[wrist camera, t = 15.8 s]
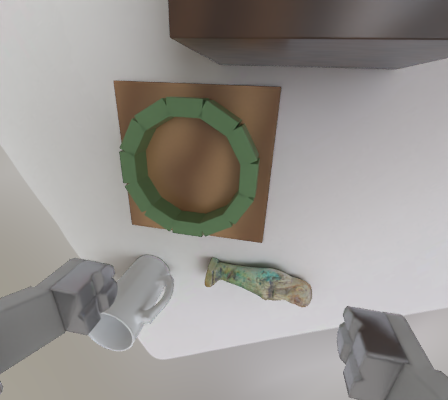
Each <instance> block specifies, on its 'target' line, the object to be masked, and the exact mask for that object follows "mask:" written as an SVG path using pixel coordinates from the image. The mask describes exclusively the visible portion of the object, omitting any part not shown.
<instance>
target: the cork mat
mask: <svg viewBox="0 0 448 400" xmlns="http://www.w3.org/2000/svg"><path fill="white" fill-rule="evenodd" d="M114 88H115V96H116V103H117V111H118V119H119V127H120V134H121V142H122V141H123V139H124V136H125V134H126V131H127V129H128V127H129V124H130V122H131V119H134V118H135V117H134V116H135V115H136V114H138V113H139V112H141V111H142V110H144V109H145V108H147V107H149V106H150V105H152V104H153V103H155V102H156V101H158V100H160V99H161V98H166V97H194V98H209V100H214V101H216V102H217V103H219V104H220V105H222V106H223V107H224V108H226V109H227V110H229V111H230V112H232V113H233V114H234V115H236V116H237V117H239V118H240V119H242V121H241V123H240V124H239V126H240V125H242V124H244V123H245V125H246V127H247V129H248V131H249V133H250V136H251V138H252V140H253V142H254V144H255V146H256V148H257V151H258V153H259V156H258V158H260V162H259V172H258V182H257V190H256V195H255V198H254V201H253V203H252V204H251V205H250V206H249V208H248V209H247V210H246V211H245V213H244V214H243V215H242V216H241V218H240V219H239V220H238V222H237V223H236V224H235V225H234V224H233V225H232V227H230V228H227V229H224V230H222V231H219V232H216V233H213V234H211V235H210V236H217V237H224V238H231V239H238V240H245V241H252V242H260V243H262V240H263V232H264V224H265V216H266V208H267V200H268V191H269V183H270V175H271V167H272V159H273V151H274V142H275V134H276V126H277V118H278V110H279V102H280V93H281V87H269V86H242V85H216V84H190V83H164V82H137V81H114ZM146 157H147V168H148V176H149V178H150V179H151V181H152V182H153V184H154V186H155V187H156V189H157V191H158V192H159V194H160V195H161V197H162V198H164V199H165V200H167V201H168V202H170V203H171V204H173V205H174V206H176V207H177V208H179V209H180V210H182V211H189V212H197V213H205V214H206V213H209V212H211V211H214V210H216V209H219V208H221V207H224V206H226V205H228V203H229V202H230V201H231V199H232V198H233V196H234V195H235V194H236V192H237V191H238V190H239V178H240V163H239V161H238V159H237V157H236V155H235V153H234V151H233V149H232V147H231V145H230V143H229V141H228V139H227V137H226V136H225V135H223V134H222V133H220V132H219V131H217V130H216V129H215V128H213V127H212V126H210V125H209V124H207V123H206V122H204V121H203V120H201V119H200V118H186V117H174V118H172V119H171V120H169V121H167V122H166V123H164V124H162V125H160V126H159V127H157V128H156V130H155V132H154V134H153V136H152V139H151V141H150V143H149V145H148V147H147V149H146ZM127 184H128V183H127ZM128 196H129V204H130V212H131V220H132V225H139V226H146V227H154V228H161V229H165V228H163V227H162V226H160V225H159V224H157V223H156V222H154V221H153V220H151V219H150V218H148V217H147V216H145V215H144V214H145V212H146V211H147V210H146V211H144V212H141V211H140V209H139V208H138V206H137V205H136V203H135V201H134V200H133V198H132V197H131V195H130V194H129V192H128ZM171 230H173V228H172V229H171ZM203 235H204V234H203Z"/></svg>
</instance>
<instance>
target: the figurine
mask: <svg viewBox="0 0 448 400" xmlns="http://www.w3.org/2000/svg"><path fill="white" fill-rule="evenodd" d="M220 279H221V280H224V281H227V282H229V283H232V284H235V285H237V286H240V287H242V288H244V289H246V290H248V291H250V292H252V293H254V294H256V295H258V296H260V297H261V298H262V299H264V300H267V299H268V300H287V301H288V302H290V303H292V304H296V305H298V306H301V307H306V306H308V305H309V303H310V301H311V299H312V289H311V286H310V285H309V284H308V283H307V282H305V281H303V280H301V279H298V278H295V277H291V276H289V275H288V274H286V273H284V272H282V271H279V270H276V269H272V268H255V267H246V266H240V265H232V264H227V263H222V262H219V261H218V259H216V258H212V259H211V261H210V264H209V266H208V269H207V273H206V278H205V286H206V287H211V286H212V285H214V284H215V283H216V282H217V281H218V280H220Z"/></svg>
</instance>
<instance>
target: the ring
mask: <svg viewBox="0 0 448 400" xmlns="http://www.w3.org/2000/svg"><path fill="white" fill-rule="evenodd" d="M134 117H135V118H134V119H131V122H130V124H129V127H128V129H127V131H126V134H125V136H124V139H123V141H122V144H121V146H120V149H122V150H123V151H120V152H119V154H120V161H121V169H122V176H123V183H128V184H127V185H126V186H125V188H126V189H127V191H128V192H129V194H130V195H131V197H132V198H133V200H134V201H135V203H136V205H137V206H138V208H139V209H140V211H141V212H144V211H146V210H147V211H146V212H145V214H144V215H145V216H147V217H148V218H150V219H151V220H153V221H154V222H156V223H157V224H159V225H160V226H162V227H163V228H165V229H167V230H168V231H171V229H172V228H173V233H178V234H185V235H192V236H199V237H202V236H203V234H204V235H205V236H208V235H211V234H213V233H216V232H219V231H222V230H224V229H227V228H230V227H232V225H233V224H234V225H235V224H236V223H237V222H238V220H239V219H240V218H241V216H242V215H243V214H244V213H245V211H246V210H247V209H248V208H249V206H250V205H251V204H252V203H253V201H254V198H255V195H256V190H257V182H258V172H259V162H260V158H258V156H259V153H258V151H257V148H256V146H255V144H254V142H253V140H252V138H251V136H250V133H249V131H248V129H247V127H246V125H245V123H244V124H242V125H240V126H239V124H240V123H241V121H242V119H240V118H239V117H237V116H236V115H234V114H233V113H232V112H230V111H229V110H227V109H226V108H224V107H223V106H222V105H220V104H219V103H217V102H216V101H214V100H209V98H194V97H166V98H161V99H160V100H158V101H156V102H155V103H153V104H152V105H150V106H149V107H147V108H145V109H144V110H142V111H141V112H139V113H138V114H136V115H135V116H134ZM174 117H186V118H200V119H201V120H203V121H204V122H206V123H207V124H209V125H210V126H212V127H213V128H215V129H216V130H217V131H219V132H220V133H222V134H223V135H225V136H226V137H227V139H228V141H229V143H230V145H231V147H232V149H233V151H234V153H235V155H236V157H237V159H238V161H239V163H240V178H239V190H238V191H237V192H236V194H235V195H234V196H233V198H232V199H231V201H230V202H229V203H228V205H226V206H224V207H221V208H219V209H216V210H214V211H211V212H209V213H206V214H205V213H197V212H189V211H182V210H180V209H179V208H177V207H176V206H174V205H173V204H171V203H170V202H168V201H167V200H165V199H164V198H162V197H161V195H160V194H159V192H158V191H157V189H156V187H155V186H154V184H153V182H152V181H151V179H150V178H149V176H148V168H147V157H146V149H147V147H148V145H149V143H150V141H151V139H152V136H153V134H154V132H155V130H156V128H157V127H159V126H160V125H162V124H164V123H166V122H167V121H169V120H171V119H172V118H174Z"/></svg>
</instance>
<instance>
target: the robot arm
mask: <svg viewBox="0 0 448 400" xmlns="http://www.w3.org/2000/svg"><path fill="white" fill-rule="evenodd" d="M114 274H115V271H114V267H113V266H112V265H110V264H105V263H100V262H95V261H90V260H84V259H79V258H73V259H70V260H69V261H67V262H66V263H65V264H64V265H63V266H61V267H60V268H58V269H57V270H56V271H55V272H53V273H52V274H51V275H50V276H48V277H47V278H46V279H44V280H43V281H42V282H41V283H39V284H38V285H37V286H35V287H28V288H25V289H23V290H20V291H17V292H15V293H12V294H9V295H7V296H4V297H2V298H0V374H1V373H3V372H4V371H6V370H7V369H9V368H10V367H12V366H14V365H15V364H17V363H18V362H20V361H21V360H23V359H24V358H26V357H28V356H29V355H31V354H32V353H34V352H35V351H37V350H39V349H40V348H42V347H43V346H45V345H46V344H48V343H50V342H51V341H53V340H54V339H56V338H57V337H59V336H60V335H62V334H64V333H65V331H69V332H73V333H79V334H83V335H88V334H89V333H90V332H91V331H92V329H93V328H94V327H95V326H96V324H97V323H98V322H99V321H100V319H101V313H102V312H104V311H106V310H108V309H109V308H110V307H111V305H112V304H113V303H114V301H115V298H116V296H117V291H118V286H117V282H116V281H115V280H114V279H113V276H114ZM343 317H344V321H345V322H344V323H342V324H340V326H339V329H338V334H337V346H338V352H339V357H340V359H341V360H342V361H343V362H344V363H345V364H346V366H345V369H344V371H343V374H344V378H345V382H346V387H347V391H348V395H349V397H350V398H354V399H357V400H448V377H447V376H446V375H445V374H444V373H442V372H441V371H438V370H434V368H433V366H432V364H431V363H430V361H429V359H428V357H427V356H426V354H425V352H424V350H423V349H422V347H421V345H420V343H419V342H418V340H417V338H416V337H415V335H414V333H413V331H412V330H411V328H410V326H409V324H408V322H407V321H406V319H405V318H404V317H403V316H402V315H399V314H393V313H387V312H380V311H374V310H368V309H362V308H356V307H350V306H347V307H346V308H345V310H344V313H343ZM2 391H3V385H2V383H1V381H0V394H1V393H2Z"/></svg>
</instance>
